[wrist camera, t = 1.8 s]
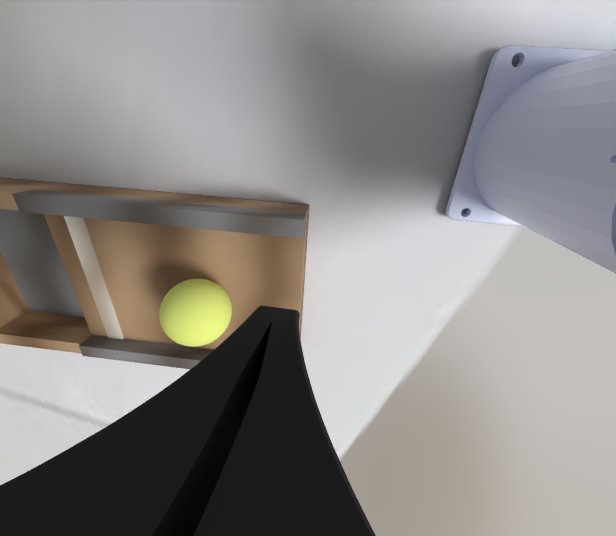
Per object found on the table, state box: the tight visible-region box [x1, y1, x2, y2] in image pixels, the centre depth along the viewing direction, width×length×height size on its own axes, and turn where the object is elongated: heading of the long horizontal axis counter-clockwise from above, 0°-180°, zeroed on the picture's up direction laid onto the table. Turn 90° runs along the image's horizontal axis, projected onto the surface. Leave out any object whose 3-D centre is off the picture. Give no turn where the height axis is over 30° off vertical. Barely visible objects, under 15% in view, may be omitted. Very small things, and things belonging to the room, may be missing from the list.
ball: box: [159, 279, 232, 347], centre depth 16 cm, size 4×4×4 cm
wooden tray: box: [0, 178, 309, 369], centre depth 19 cm, size 24×12×3 cm, turn 86°
